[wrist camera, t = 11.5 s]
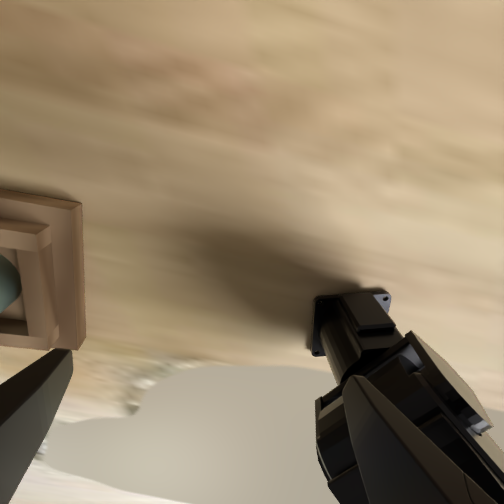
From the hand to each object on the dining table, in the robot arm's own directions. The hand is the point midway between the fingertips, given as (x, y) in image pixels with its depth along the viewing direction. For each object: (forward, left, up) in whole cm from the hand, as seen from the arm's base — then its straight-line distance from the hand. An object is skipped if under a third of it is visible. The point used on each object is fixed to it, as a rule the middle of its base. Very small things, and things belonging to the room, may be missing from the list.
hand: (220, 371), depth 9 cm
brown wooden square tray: (-2, +17, -13) cm, 22 cm away
